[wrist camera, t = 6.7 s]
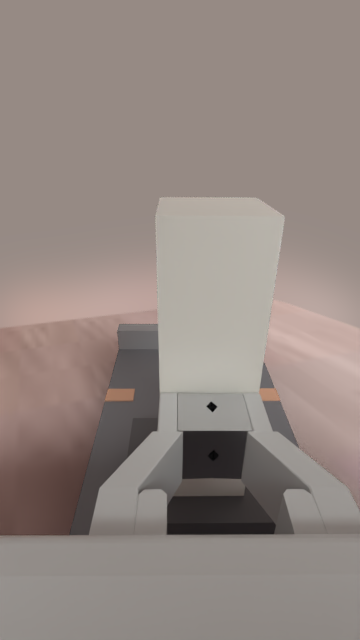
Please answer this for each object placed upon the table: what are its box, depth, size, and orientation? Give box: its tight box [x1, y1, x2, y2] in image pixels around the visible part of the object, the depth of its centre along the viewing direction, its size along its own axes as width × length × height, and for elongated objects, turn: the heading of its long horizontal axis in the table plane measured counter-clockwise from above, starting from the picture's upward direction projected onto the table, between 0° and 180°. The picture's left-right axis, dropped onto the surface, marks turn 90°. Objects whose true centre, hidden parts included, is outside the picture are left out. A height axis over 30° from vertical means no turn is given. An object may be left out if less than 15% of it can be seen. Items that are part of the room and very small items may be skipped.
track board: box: [69, 324, 299, 535], centre depth 14 cm, size 26×10×4 cm, turn 1°
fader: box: [127, 197, 285, 535], centre depth 12 cm, size 5×6×11 cm
